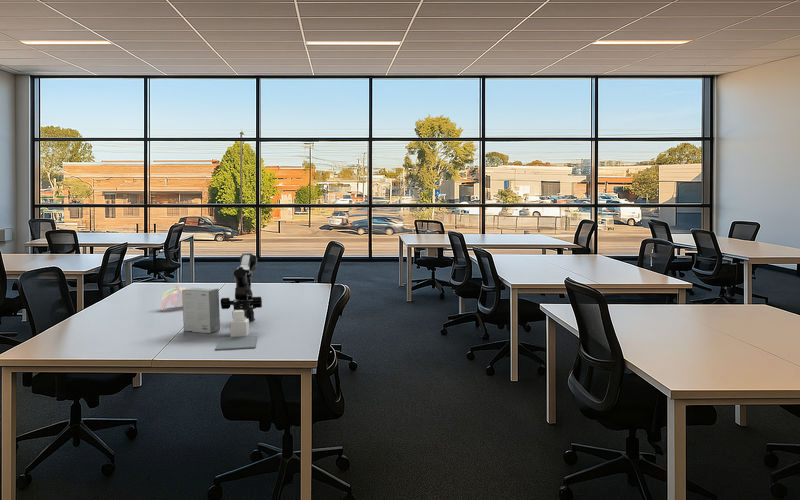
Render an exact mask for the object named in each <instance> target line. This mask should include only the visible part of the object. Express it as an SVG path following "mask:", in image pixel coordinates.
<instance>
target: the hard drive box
mask: <svg viewBox="0 0 800 500" xmlns="http://www.w3.org/2000/svg"><path fill="white" fill-rule="evenodd" d="M219 293H220V291H219V288H208V287H189V288H188V287H187V289H184V290H182V300H183V306H182V315H183V317H182V318H183V332H188V331H192V332H191V333H202V334H213V333H216V332H217V331H221V317H220V316H221V315H220V296H219V295H220V294H219Z"/></svg>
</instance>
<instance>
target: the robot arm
mask: <svg viewBox="0 0 800 500" xmlns="http://www.w3.org/2000/svg"><path fill="white" fill-rule="evenodd" d="M239 264H240V266H238V267H236V269H235V270H234V272H233V278H234V282H235V284H236V285H235V288H234V299H233V300H231V299H230V297H222V298H220V300H219V304H220V308H221V310H228V309H230V308H231V306H233V311H234V310H236V309H244V310H246V319H249V322H252V321H255V320H256V318H255V312H254V309H261V308H263V301H262V299H263V298H262V297H261V296H254V295H253V292H252V280H253V272H254V271H255V270H256V269H257V265H258V257H257V256H256V255H254V254H253V253H251V252H247V253H246V252H245V253H242V254H241V256H240V259H239Z"/></svg>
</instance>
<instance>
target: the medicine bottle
mask: <svg viewBox="0 0 800 500" xmlns="http://www.w3.org/2000/svg"><path fill="white" fill-rule="evenodd" d="M231 315H232V319H231V321H230V322H229V331H230V332H229V333H230V334H229V335H230V336H229V337H239V336H249V335H250V321H249V319H246V310H244V309H236V310H234V309H233V310H232V314H231Z"/></svg>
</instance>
